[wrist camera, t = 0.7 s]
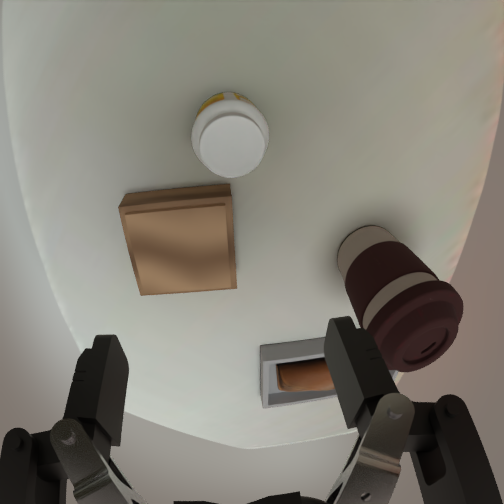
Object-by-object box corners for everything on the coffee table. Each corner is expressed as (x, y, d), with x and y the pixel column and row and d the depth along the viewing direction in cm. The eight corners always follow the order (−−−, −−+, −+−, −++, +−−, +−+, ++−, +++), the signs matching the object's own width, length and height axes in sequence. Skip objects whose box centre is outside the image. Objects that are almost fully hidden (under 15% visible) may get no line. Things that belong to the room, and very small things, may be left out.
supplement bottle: (258, 92, 26) (281, 105, 18) (255, 150, 29) (274, 189, 21) (195, 91, 25) (187, 104, 17) (195, 150, 28) (189, 189, 20)
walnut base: (125, 193, 29) (116, 209, 26) (229, 183, 30) (231, 198, 27) (144, 278, 35) (140, 298, 32) (234, 271, 35) (237, 291, 33)
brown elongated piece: (277, 393, 48) (283, 414, 41) (272, 353, 48) (278, 370, 41) (382, 370, 49) (400, 385, 42) (381, 331, 49) (400, 343, 42)
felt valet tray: (260, 345, 43) (263, 361, 40) (407, 322, 44) (415, 335, 42) (260, 394, 49) (262, 408, 47) (386, 371, 51) (392, 384, 49)
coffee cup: (321, 223, 33) (381, 326, 21) (403, 206, 33) (485, 289, 21) (326, 294, 39) (369, 395, 26) (398, 274, 39) (456, 362, 26)
